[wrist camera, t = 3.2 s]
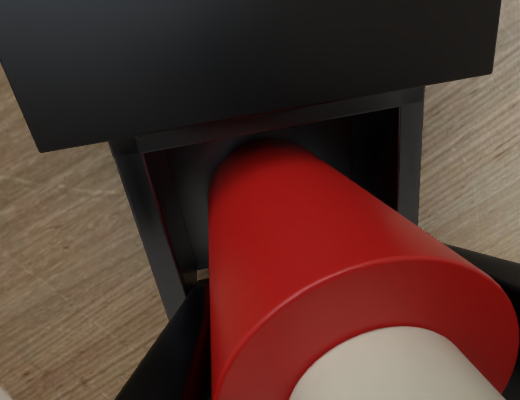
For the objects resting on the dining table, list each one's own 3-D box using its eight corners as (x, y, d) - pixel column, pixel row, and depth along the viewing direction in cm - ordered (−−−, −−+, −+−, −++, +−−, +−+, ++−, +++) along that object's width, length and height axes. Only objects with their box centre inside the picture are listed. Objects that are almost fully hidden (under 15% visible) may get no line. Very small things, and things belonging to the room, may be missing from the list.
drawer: (372, 320, 18) (424, 395, 14) (199, 363, 17) (197, 458, 13) (369, 73, 13) (449, 70, 9) (122, 114, 12) (76, 134, 8)
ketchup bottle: (221, 263, 14) (256, 683, 4) (195, 151, 12) (151, 453, 2) (331, 239, 15) (587, 565, 5) (323, 127, 13) (732, 295, 3)
